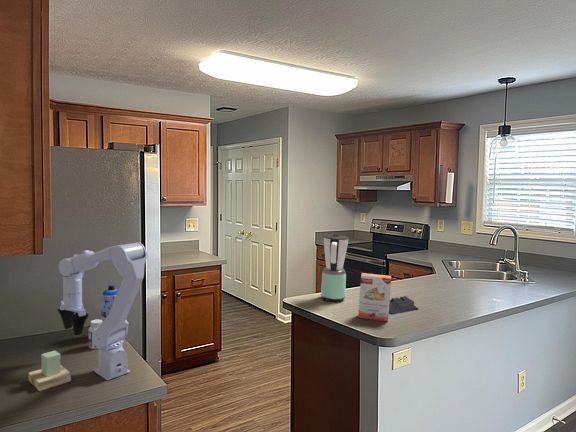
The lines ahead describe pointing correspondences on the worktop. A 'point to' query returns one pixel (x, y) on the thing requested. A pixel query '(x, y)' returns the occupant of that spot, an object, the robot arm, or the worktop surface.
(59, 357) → the green block
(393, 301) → the dark slate chunk
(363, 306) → the cracker box
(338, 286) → the mint green blender
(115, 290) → the aerosol can
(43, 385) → the birch block
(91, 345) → the pill bottle
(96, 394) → the worktop surface
